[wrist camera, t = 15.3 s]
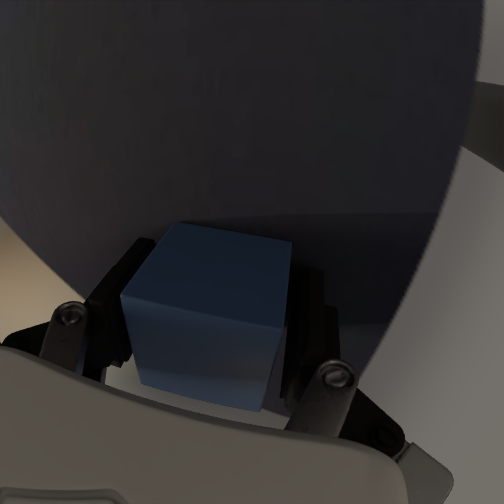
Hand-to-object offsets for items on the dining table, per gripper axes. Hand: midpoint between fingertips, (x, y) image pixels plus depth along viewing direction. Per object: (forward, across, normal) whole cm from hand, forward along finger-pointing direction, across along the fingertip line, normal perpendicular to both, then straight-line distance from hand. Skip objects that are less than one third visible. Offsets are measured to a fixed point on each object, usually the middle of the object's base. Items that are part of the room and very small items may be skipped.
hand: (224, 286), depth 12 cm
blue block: (0, 0, 0) cm, 0 cm away
